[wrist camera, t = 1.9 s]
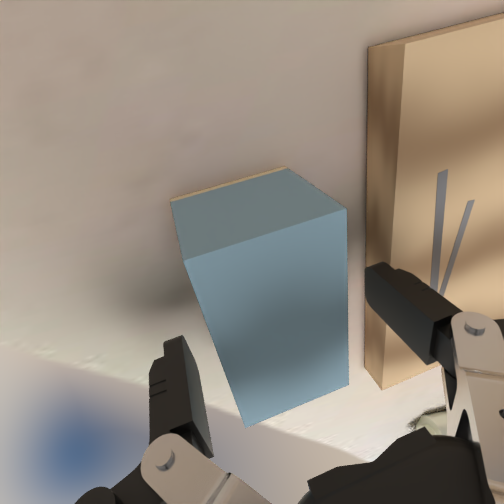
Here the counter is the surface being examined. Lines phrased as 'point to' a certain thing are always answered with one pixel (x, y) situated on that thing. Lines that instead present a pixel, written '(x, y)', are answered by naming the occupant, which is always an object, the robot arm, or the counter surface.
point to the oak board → (436, 176)
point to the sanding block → (270, 286)
